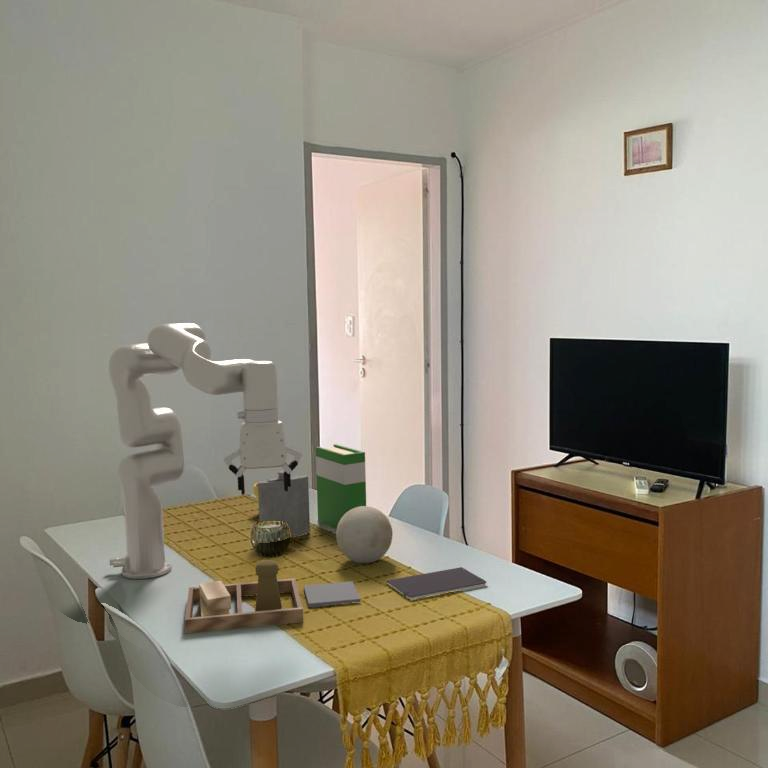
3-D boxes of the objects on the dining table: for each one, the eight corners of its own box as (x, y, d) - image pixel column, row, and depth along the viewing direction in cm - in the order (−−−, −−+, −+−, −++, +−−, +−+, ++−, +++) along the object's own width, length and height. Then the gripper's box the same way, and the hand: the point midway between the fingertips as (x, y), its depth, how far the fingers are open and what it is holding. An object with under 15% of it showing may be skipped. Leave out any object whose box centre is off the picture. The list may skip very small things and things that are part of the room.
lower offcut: (202, 629, 175) (201, 616, 175) (200, 606, 189) (199, 593, 188) (230, 626, 177) (229, 612, 176) (226, 603, 190) (226, 591, 190)
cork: (256, 614, 181) (254, 567, 180) (253, 605, 187) (251, 559, 186) (283, 611, 183) (281, 564, 182) (279, 602, 189) (278, 556, 187)
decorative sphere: (328, 558, 220) (326, 504, 218) (377, 550, 226) (376, 497, 225) (351, 574, 206) (349, 517, 205) (403, 565, 213) (401, 509, 212)
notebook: (461, 572, 208) (386, 586, 199) (461, 566, 207) (386, 580, 199) (488, 588, 196) (409, 603, 187) (487, 582, 196) (409, 596, 187)
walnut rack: (185, 633, 172) (184, 619, 171) (189, 599, 191) (189, 587, 191) (303, 622, 176) (302, 608, 176) (295, 590, 196) (295, 578, 196)
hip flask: (307, 530, 247) (305, 466, 245) (313, 534, 243) (310, 468, 241) (258, 539, 239) (255, 473, 237) (263, 543, 235) (260, 475, 233)
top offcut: (208, 612, 177) (207, 599, 176) (199, 596, 187) (199, 583, 186) (231, 608, 178) (230, 595, 178) (221, 592, 189) (220, 580, 188)
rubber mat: (308, 607, 185) (308, 603, 185) (303, 589, 196) (303, 585, 196) (360, 602, 187) (360, 598, 187) (352, 585, 199) (352, 581, 198)
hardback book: (318, 521, 258) (315, 446, 255) (338, 517, 262) (336, 444, 259) (345, 533, 243) (343, 455, 240) (366, 529, 247) (364, 452, 244)
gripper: (221, 420, 175) (225, 498, 177) (301, 416, 178) (304, 492, 180) (221, 416, 182) (225, 490, 184) (298, 412, 186) (301, 485, 187)
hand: (264, 491), depth 182 cm, fingers open, 9 cm apart
